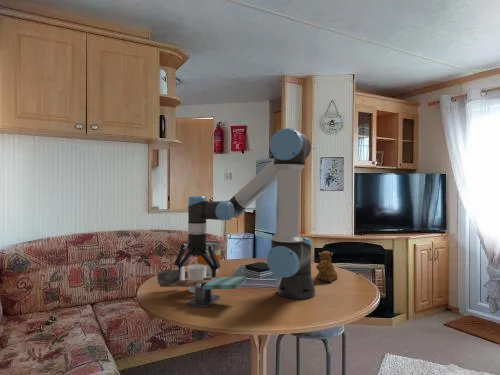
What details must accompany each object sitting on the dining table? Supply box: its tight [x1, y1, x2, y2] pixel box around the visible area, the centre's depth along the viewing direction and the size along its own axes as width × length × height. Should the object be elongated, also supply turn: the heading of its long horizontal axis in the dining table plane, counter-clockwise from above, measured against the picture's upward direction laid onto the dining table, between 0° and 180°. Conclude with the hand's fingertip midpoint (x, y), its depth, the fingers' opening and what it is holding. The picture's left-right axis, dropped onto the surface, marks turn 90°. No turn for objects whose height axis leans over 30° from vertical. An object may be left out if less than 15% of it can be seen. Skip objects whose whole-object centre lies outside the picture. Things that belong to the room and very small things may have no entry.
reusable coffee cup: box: [196, 240, 222, 275], centre depth 181 cm, size 13×13×15 cm
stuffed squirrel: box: [315, 250, 338, 283], centre depth 167 cm, size 10×14×13 cm
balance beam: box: [156, 269, 248, 290], centre depth 135 cm, size 33×12×6 cm, turn 71°
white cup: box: [187, 264, 207, 294], centre depth 149 cm, size 8×8×10 cm
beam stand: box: [186, 276, 221, 309], centre depth 134 cm, size 8×12×8 cm, turn 161°
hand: (196, 284), depth 149 cm, fingers open, 13 cm apart
